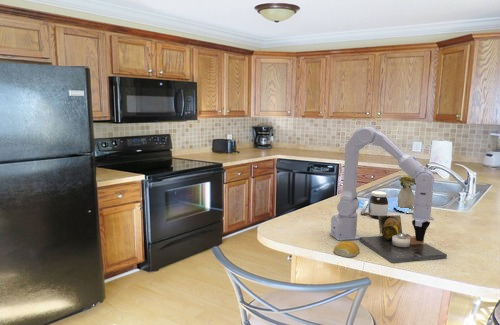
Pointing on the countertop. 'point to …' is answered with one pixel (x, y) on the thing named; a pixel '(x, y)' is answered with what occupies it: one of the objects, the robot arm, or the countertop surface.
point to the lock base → (402, 250)
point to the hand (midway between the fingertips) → (419, 240)
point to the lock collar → (405, 241)
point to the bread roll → (346, 249)
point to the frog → (406, 193)
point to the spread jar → (377, 204)
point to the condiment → (390, 226)
